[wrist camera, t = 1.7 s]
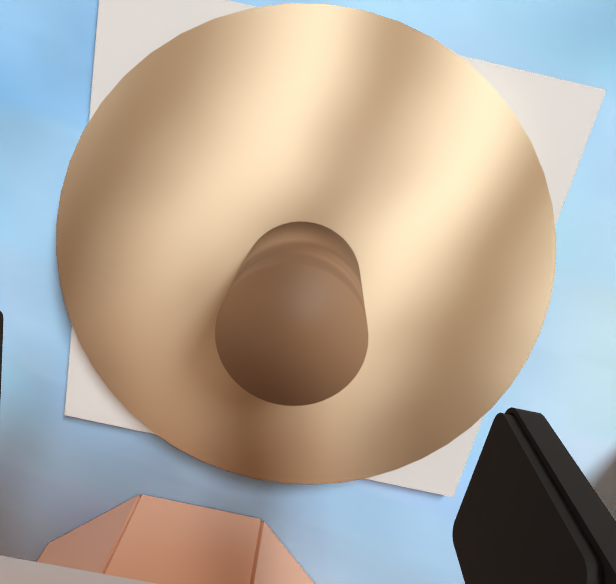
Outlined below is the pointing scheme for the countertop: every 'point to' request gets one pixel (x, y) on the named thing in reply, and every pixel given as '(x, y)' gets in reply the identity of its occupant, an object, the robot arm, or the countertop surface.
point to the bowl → (176, 546)
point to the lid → (306, 243)
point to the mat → (506, 81)
